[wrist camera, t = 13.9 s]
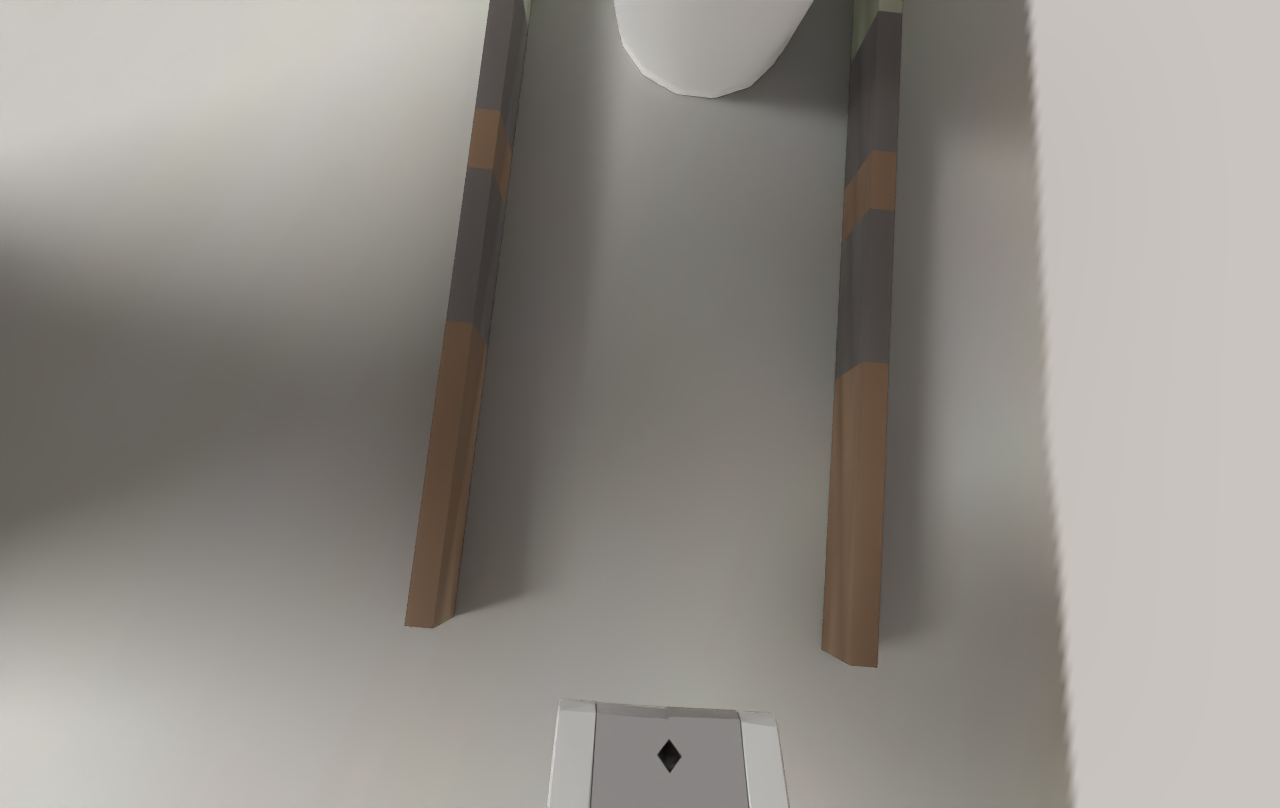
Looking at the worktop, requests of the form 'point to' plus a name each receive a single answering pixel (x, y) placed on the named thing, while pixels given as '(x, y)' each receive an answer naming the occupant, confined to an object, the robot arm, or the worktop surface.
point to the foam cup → (707, 40)
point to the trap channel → (858, 330)
